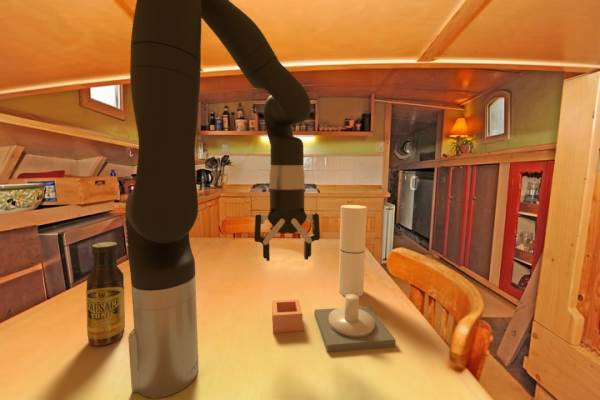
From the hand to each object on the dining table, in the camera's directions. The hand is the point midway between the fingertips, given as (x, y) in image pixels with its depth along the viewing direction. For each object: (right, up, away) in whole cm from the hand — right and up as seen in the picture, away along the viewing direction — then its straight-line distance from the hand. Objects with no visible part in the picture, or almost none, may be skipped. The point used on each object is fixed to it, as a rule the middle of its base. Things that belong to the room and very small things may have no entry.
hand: (287, 259), depth 58 cm
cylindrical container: (+18, -14, +18) cm, 29 cm away
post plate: (+14, -16, 0) cm, 21 cm away
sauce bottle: (-37, -16, -4) cm, 40 cm away
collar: (0, -15, +2) cm, 15 cm away
